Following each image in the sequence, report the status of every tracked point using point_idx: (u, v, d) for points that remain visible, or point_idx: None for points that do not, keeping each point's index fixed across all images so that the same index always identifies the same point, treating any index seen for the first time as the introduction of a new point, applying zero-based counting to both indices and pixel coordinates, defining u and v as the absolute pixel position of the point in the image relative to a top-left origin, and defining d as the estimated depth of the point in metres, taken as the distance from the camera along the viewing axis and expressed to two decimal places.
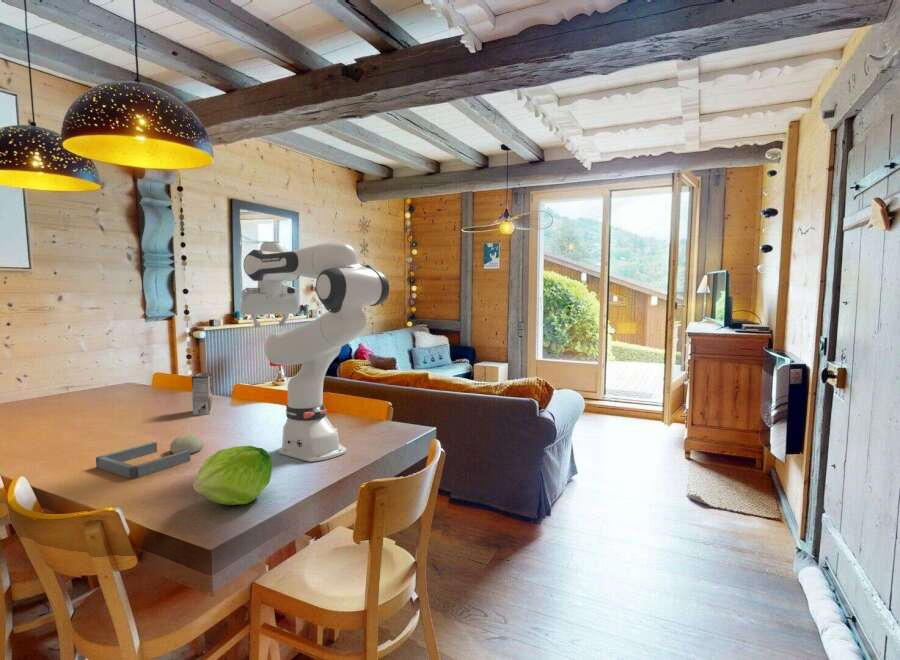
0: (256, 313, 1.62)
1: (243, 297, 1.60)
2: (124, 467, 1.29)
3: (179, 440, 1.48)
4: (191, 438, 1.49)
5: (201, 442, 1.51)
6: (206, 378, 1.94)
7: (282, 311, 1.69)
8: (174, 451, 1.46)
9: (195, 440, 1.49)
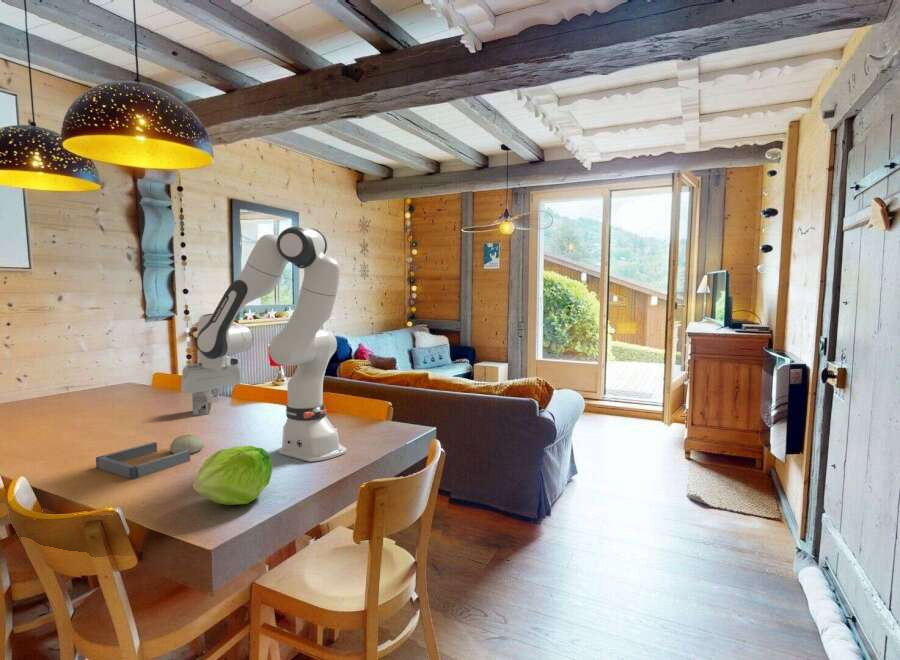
0: (199, 390, 1.52)
1: (185, 375, 1.49)
2: (124, 467, 1.29)
3: (179, 440, 1.48)
4: (191, 438, 1.49)
5: (201, 442, 1.51)
6: None
7: (225, 384, 1.61)
8: (174, 451, 1.46)
9: (195, 440, 1.49)
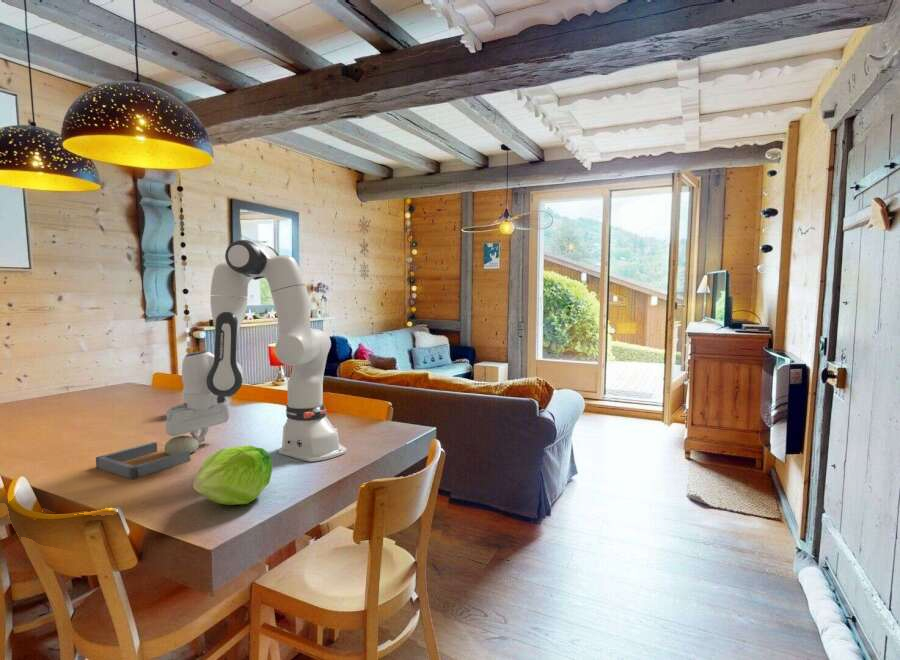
0: (185, 432, 1.48)
1: (169, 417, 1.45)
2: (124, 467, 1.29)
3: (173, 441, 1.46)
4: (186, 439, 1.48)
5: (196, 443, 1.50)
6: None
7: (212, 423, 1.57)
8: (168, 452, 1.45)
9: (190, 441, 1.48)
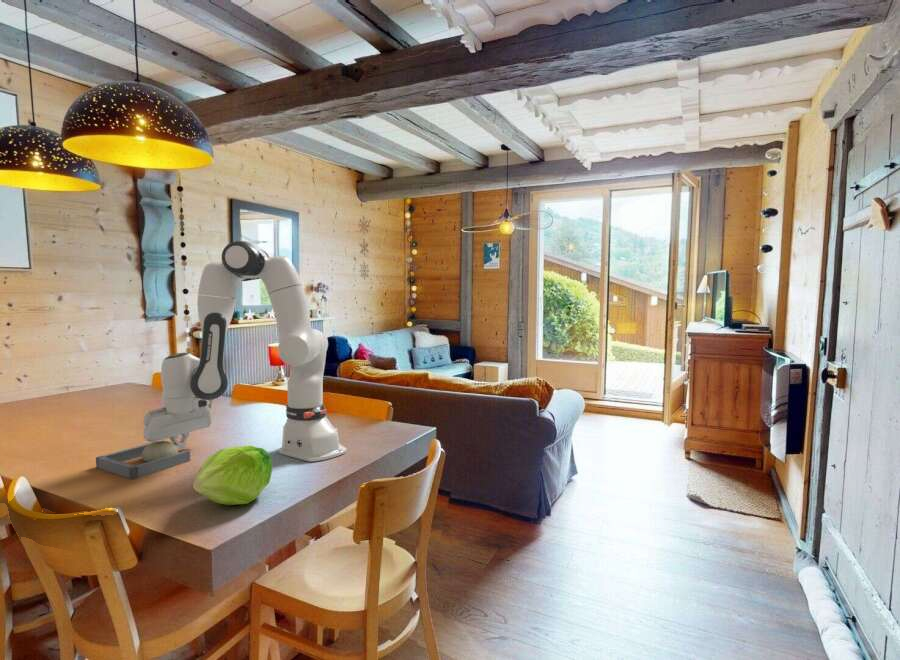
0: (164, 437, 1.42)
1: (147, 422, 1.39)
2: (124, 467, 1.29)
3: (150, 447, 1.41)
4: (163, 445, 1.42)
5: (174, 449, 1.44)
6: None
7: (193, 428, 1.51)
8: (145, 458, 1.39)
9: (168, 447, 1.42)
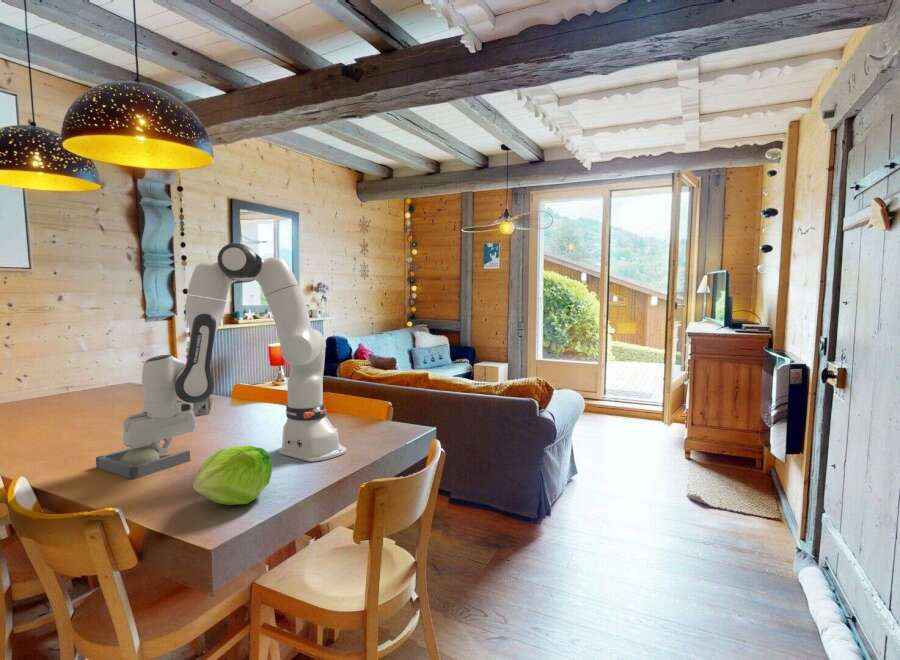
0: (144, 443, 1.37)
1: (126, 428, 1.34)
2: (124, 467, 1.29)
3: (130, 453, 1.35)
4: (143, 451, 1.37)
5: (155, 456, 1.38)
6: None
7: (176, 433, 1.46)
8: None
9: (148, 454, 1.37)
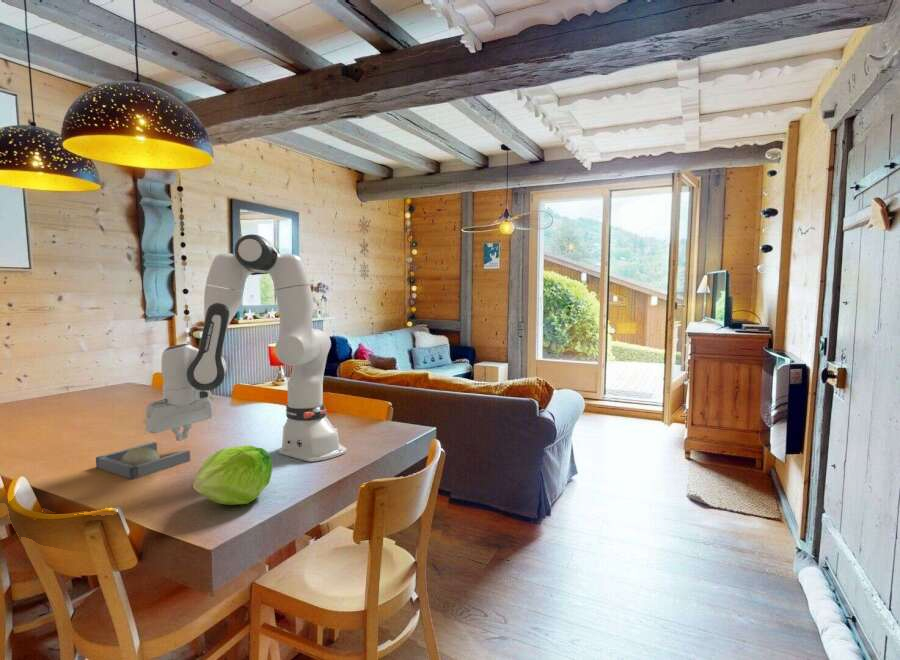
0: (166, 429, 1.42)
1: (148, 414, 1.38)
2: (124, 467, 1.29)
3: (130, 453, 1.35)
4: (143, 451, 1.36)
5: (155, 455, 1.38)
6: None
7: (195, 419, 1.50)
8: None
9: (148, 454, 1.37)
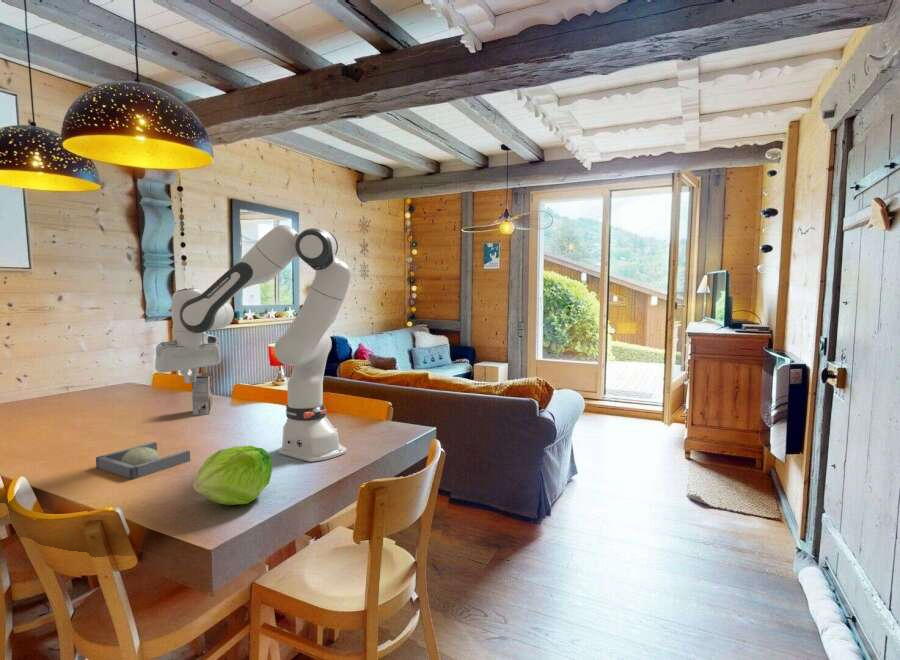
0: (175, 369, 1.45)
1: (158, 353, 1.41)
2: (124, 467, 1.29)
3: (130, 453, 1.35)
4: (143, 451, 1.37)
5: (155, 456, 1.38)
6: (206, 378, 1.94)
7: (203, 363, 1.53)
8: None
9: (148, 454, 1.37)
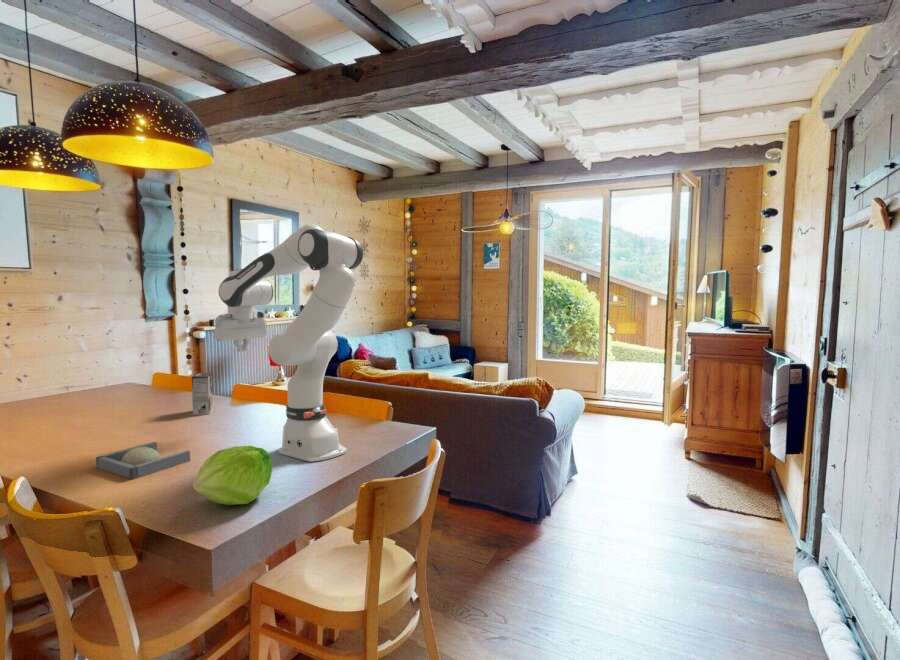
0: (230, 339, 1.67)
1: (217, 324, 1.64)
2: (124, 467, 1.29)
3: (130, 453, 1.35)
4: (143, 451, 1.36)
5: (155, 456, 1.38)
6: (206, 378, 1.94)
7: (253, 335, 1.76)
8: None
9: (148, 454, 1.37)
